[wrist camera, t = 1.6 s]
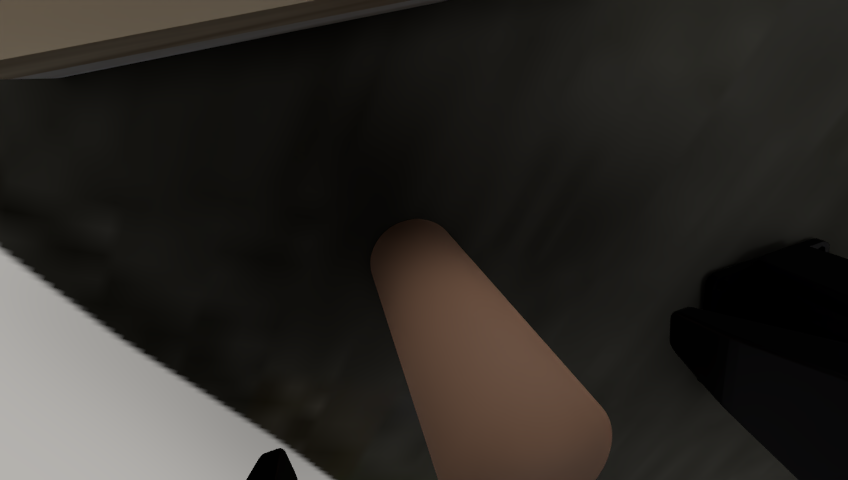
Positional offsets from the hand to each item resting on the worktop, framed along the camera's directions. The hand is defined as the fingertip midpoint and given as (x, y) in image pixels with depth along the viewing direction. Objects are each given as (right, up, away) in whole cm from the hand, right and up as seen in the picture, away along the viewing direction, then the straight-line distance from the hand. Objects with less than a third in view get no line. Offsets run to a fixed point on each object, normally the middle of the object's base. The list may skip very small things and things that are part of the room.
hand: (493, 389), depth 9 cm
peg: (-2, +2, +6) cm, 7 cm away
